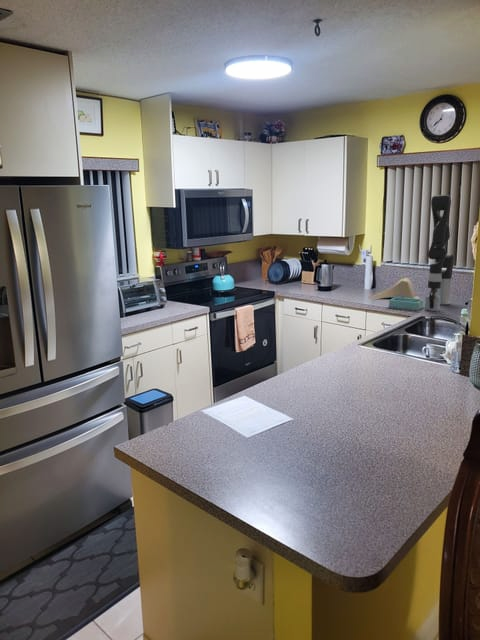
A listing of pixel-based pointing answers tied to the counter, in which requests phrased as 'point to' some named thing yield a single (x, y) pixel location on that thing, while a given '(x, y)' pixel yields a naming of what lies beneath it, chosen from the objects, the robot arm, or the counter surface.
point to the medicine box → (436, 304)
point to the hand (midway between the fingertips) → (432, 307)
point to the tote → (406, 303)
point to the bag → (398, 290)
